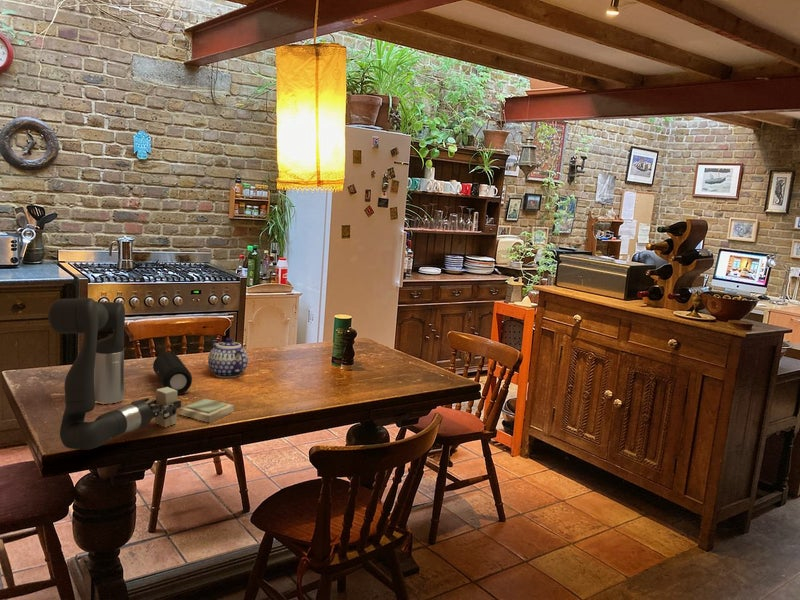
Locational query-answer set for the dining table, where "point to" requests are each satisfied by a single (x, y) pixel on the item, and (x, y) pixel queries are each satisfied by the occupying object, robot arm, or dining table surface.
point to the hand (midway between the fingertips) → (172, 401)
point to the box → (166, 397)
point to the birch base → (206, 410)
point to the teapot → (227, 359)
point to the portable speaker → (172, 372)
